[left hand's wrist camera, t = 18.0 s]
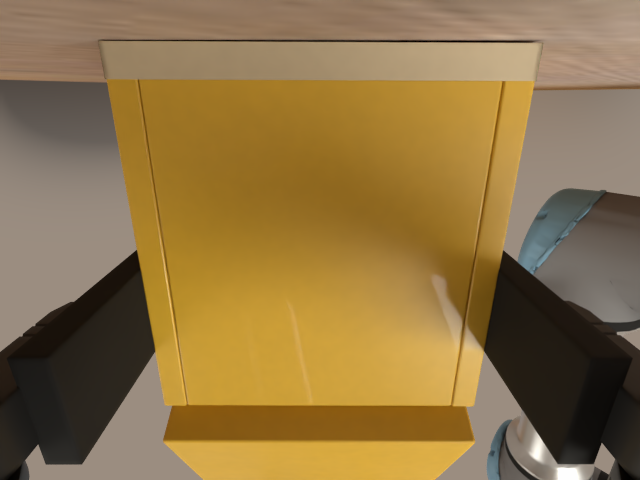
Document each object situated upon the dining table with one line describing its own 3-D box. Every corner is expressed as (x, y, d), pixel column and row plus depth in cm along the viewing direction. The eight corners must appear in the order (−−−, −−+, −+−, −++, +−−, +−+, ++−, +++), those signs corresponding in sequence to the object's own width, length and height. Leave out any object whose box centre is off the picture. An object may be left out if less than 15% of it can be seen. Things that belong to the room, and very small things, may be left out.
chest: (395, 83, 24) (385, 233, 28) (244, 82, 24) (253, 232, 28) (544, 42, 8) (474, 407, 12) (97, 40, 8) (163, 406, 12)
